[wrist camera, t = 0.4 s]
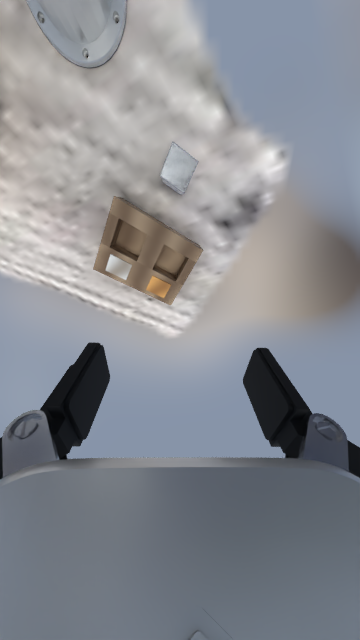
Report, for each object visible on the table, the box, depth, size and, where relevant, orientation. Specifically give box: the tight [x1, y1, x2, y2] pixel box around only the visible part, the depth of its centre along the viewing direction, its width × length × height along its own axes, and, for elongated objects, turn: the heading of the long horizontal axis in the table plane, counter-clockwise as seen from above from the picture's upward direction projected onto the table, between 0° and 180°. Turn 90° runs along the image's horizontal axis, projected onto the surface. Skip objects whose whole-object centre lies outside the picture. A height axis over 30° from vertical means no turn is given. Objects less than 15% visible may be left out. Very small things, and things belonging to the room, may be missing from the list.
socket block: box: [93, 196, 203, 305], centre depth 37 cm, size 18×14×5 cm
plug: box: [160, 142, 199, 195], centre depth 29 cm, size 4×4×8 cm
